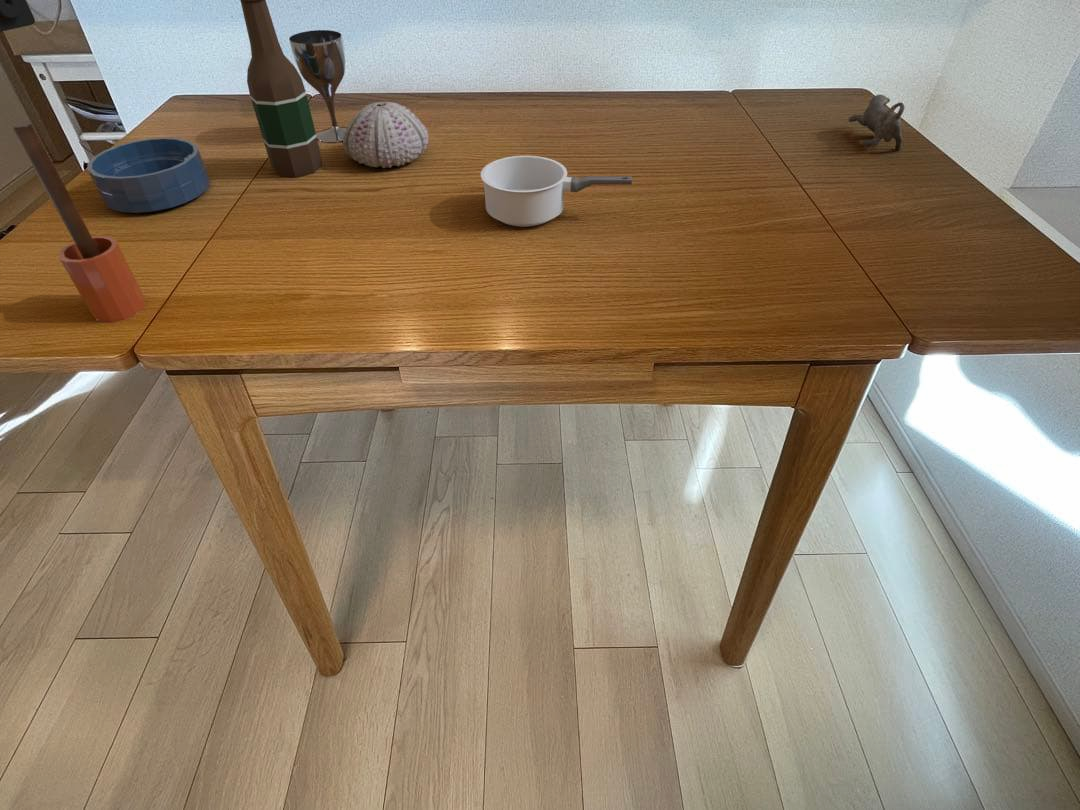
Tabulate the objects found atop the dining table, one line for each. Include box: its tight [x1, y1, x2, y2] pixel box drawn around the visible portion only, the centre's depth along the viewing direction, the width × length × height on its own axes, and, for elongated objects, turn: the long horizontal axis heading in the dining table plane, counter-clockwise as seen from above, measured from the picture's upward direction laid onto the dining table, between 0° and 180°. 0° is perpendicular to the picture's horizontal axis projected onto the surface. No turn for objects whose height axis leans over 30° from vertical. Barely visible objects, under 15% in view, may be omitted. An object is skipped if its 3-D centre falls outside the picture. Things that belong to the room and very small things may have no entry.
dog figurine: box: [847, 94, 905, 151], centre depth 105 cm, size 12×6×7 cm, turn 179°
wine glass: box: [288, 29, 347, 143], centre depth 106 cm, size 8×8×15 cm
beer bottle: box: [239, 0, 323, 178], centre depth 93 cm, size 8×8×24 cm
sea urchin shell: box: [341, 101, 430, 169], centre depth 102 cm, size 13×14×8 cm
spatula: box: [10, 120, 100, 259], centre depth 66 cm, size 3×2×20 cm, turn 99°
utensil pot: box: [58, 235, 147, 323], centre depth 71 cm, size 5×6×8 cm
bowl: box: [87, 137, 211, 214], centre depth 93 cm, size 14×14×6 cm
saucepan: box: [480, 155, 633, 228], centre depth 88 cm, size 12×20×6 cm, turn 82°
